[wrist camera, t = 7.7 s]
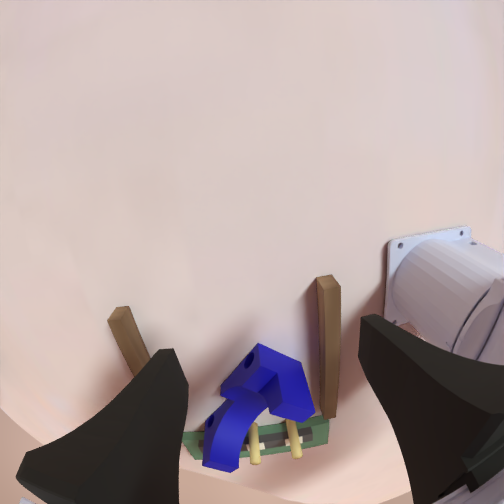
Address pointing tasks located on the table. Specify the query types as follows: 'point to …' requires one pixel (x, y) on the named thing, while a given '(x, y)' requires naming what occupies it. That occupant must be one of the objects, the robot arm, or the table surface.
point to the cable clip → (254, 403)
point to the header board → (270, 439)
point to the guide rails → (328, 341)
